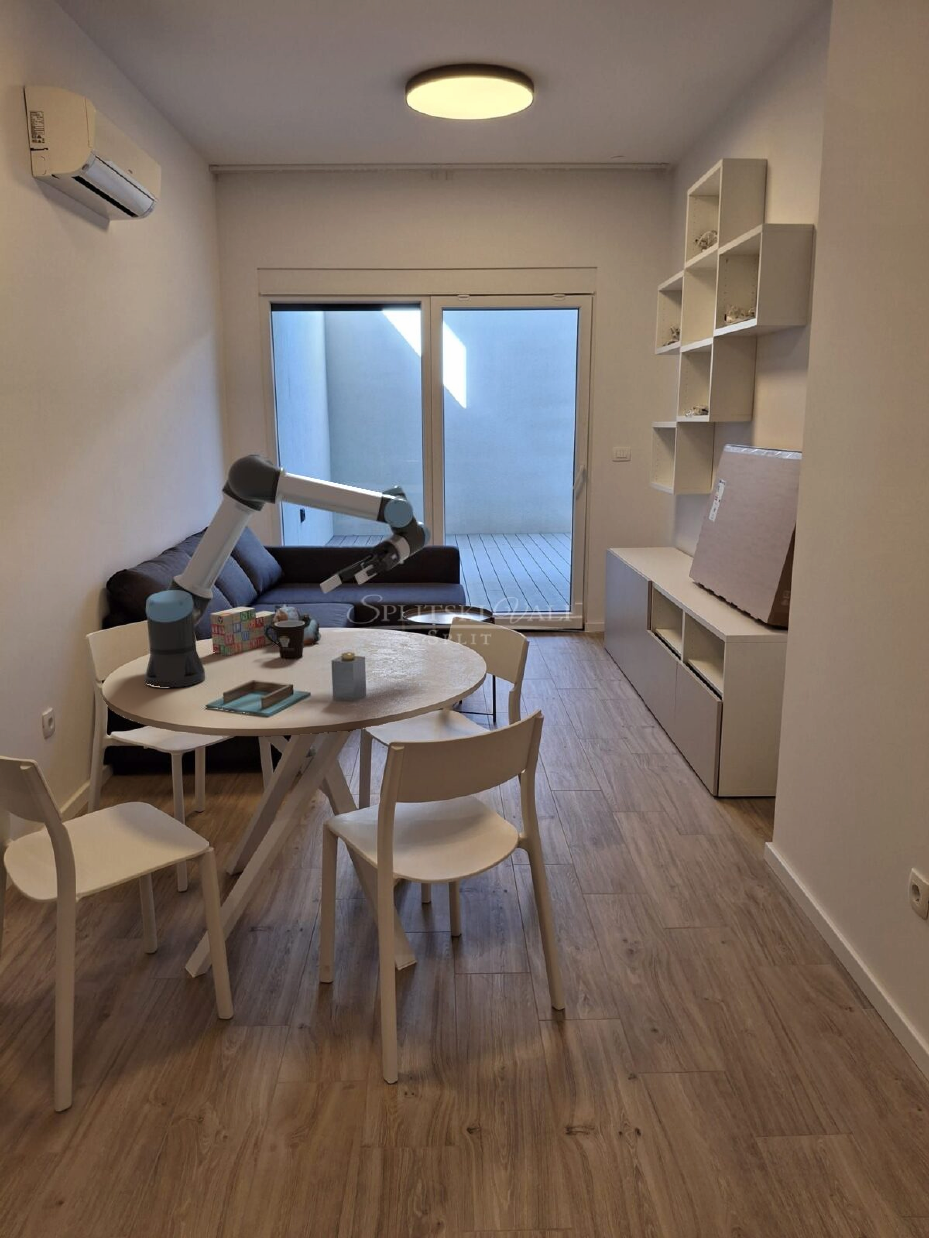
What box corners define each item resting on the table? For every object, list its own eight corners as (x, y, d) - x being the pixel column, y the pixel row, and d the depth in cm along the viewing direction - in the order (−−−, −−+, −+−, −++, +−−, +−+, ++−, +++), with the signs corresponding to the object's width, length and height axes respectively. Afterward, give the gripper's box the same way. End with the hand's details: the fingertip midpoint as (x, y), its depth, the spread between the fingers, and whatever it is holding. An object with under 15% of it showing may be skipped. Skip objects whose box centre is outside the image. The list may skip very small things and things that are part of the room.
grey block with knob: (333, 699, 215) (331, 655, 213) (345, 692, 221) (343, 650, 218) (354, 702, 213) (352, 658, 211) (366, 695, 218) (364, 652, 216)
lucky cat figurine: (321, 645, 269) (299, 609, 262) (286, 660, 270) (263, 625, 263) (323, 622, 282) (302, 587, 275) (289, 636, 283) (268, 602, 277)
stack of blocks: (266, 639, 278) (263, 601, 276) (280, 641, 275) (277, 603, 272) (212, 653, 261) (209, 613, 259) (226, 656, 258) (223, 615, 255)
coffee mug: (312, 656, 257) (310, 623, 254) (288, 662, 250) (286, 628, 248) (288, 650, 264) (286, 617, 262) (264, 655, 258) (262, 622, 256)
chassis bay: (205, 708, 210) (204, 694, 209) (251, 687, 226) (250, 675, 225) (268, 716, 203) (267, 703, 202) (310, 695, 219) (310, 682, 218)
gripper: (427, 556, 232) (379, 589, 216) (364, 573, 248) (315, 605, 233) (416, 530, 230) (366, 561, 215) (353, 549, 246) (302, 579, 231)
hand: (339, 584), depth 224 cm, fingers open, 13 cm apart
